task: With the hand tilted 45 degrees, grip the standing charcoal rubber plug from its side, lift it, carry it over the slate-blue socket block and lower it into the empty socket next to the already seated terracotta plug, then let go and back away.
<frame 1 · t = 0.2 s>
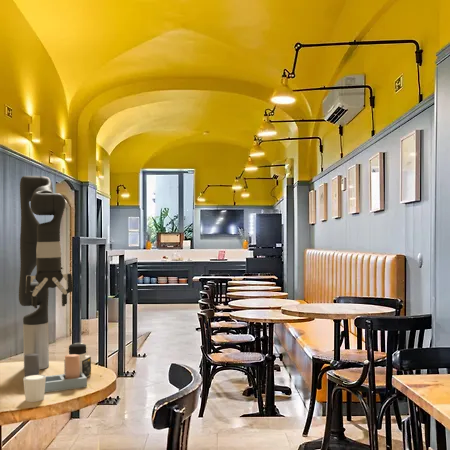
hand: (49, 307, 183), 29 cm above the table, tool pointing down, fingers open, 8 cm apart
socket block: (62, 386, 196), on the table
white cup: (34, 399, 182), on the table
plug: (32, 384, 200), on the table
medicine bottle: (77, 377, 208), on the table
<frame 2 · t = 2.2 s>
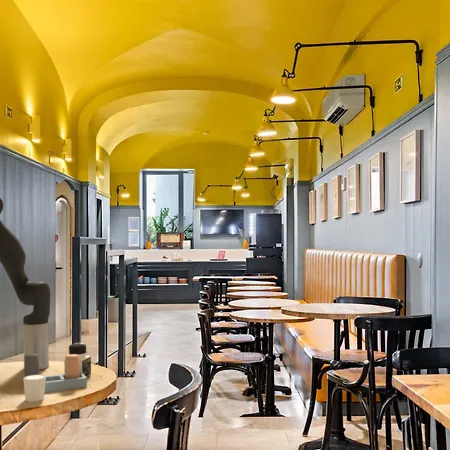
nothing on the table moved.
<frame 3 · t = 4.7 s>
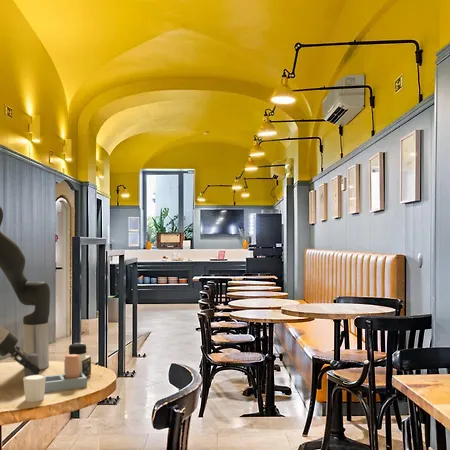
hand: (37, 370, 201), 4 cm above the table, tool tilted 45°, fingers closed on plug, 4 cm apart
plug: (32, 383, 200), on the table, touching gripper
everything else where it was.
when the fingers open (7 cm above the table, at t = 9.1 s): plug drops 2 cm, resting in socket block.
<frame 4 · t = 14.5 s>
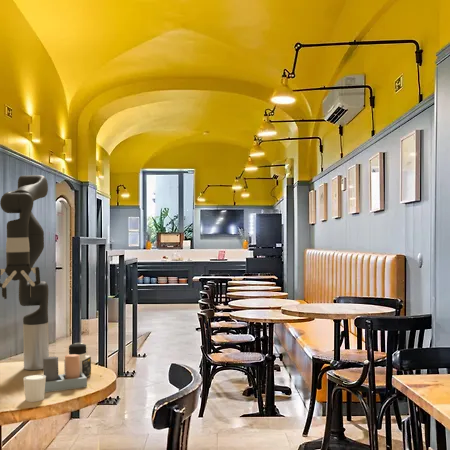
hand: (18, 297, 198), 30 cm above the table, tool pointing down, fingers open, 8 cm apart
plug: (51, 387, 195), resting in socket block
everything else where it was.
at the end: plug 0.1 cm from the target spot on the socket block, point 0.0 cm above the socket block's base; plug tilted 0°; the gripper is holding nothing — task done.
